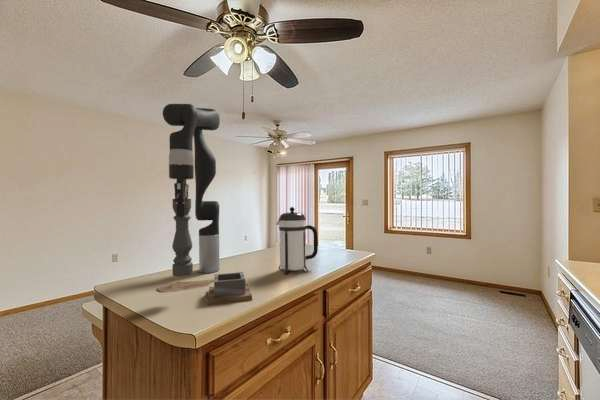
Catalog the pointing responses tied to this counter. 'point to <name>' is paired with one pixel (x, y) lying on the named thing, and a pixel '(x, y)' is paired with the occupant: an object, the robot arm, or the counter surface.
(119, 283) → the counter surface
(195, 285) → the fish fossil
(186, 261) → the candle holder
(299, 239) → the coffee press
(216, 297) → the collar socket
